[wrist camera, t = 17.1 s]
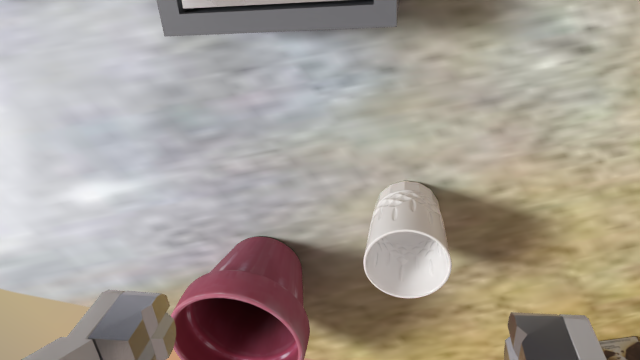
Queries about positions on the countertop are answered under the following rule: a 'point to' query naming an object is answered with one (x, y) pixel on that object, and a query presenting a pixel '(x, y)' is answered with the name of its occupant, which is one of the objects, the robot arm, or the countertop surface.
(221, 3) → the pan
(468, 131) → the countertop surface
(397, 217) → the white cup
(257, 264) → the plant pot
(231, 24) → the scale housing
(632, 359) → the coffee box
